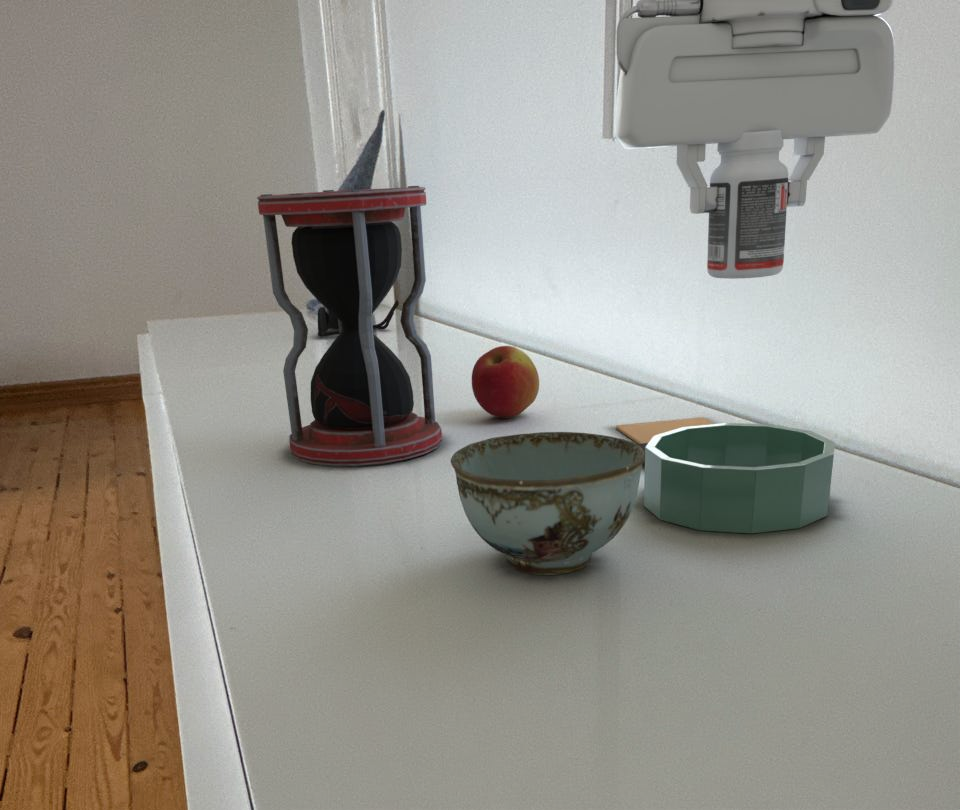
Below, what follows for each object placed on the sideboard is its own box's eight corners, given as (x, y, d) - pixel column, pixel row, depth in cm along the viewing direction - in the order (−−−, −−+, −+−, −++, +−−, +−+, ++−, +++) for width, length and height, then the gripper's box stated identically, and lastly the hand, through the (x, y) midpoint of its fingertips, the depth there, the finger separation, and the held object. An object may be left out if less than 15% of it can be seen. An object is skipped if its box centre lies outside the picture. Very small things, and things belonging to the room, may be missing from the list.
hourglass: (420, 422, 115) (402, 185, 105) (461, 454, 101) (445, 185, 91) (280, 439, 111) (247, 194, 101) (303, 475, 97) (267, 195, 87)
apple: (462, 415, 118) (458, 346, 114) (524, 406, 121) (522, 338, 117) (487, 428, 111) (484, 354, 108) (552, 418, 114) (551, 346, 111)
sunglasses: (388, 337, 178) (386, 308, 176) (311, 339, 181) (308, 310, 179) (411, 323, 193) (409, 296, 191) (339, 325, 196) (336, 298, 193)
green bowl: (777, 472, 90) (782, 417, 88) (863, 521, 77) (871, 458, 75) (623, 488, 88) (624, 432, 86) (684, 541, 75) (687, 477, 73)
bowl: (583, 610, 64) (582, 490, 61) (419, 574, 72) (411, 465, 68) (674, 546, 74) (678, 440, 71) (522, 520, 82) (519, 423, 78)
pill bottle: (791, 270, 78) (801, 128, 74) (771, 279, 74) (780, 129, 70) (719, 271, 81) (725, 134, 77) (696, 279, 77) (701, 134, 72)
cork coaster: (702, 419, 110) (703, 417, 110) (741, 440, 101) (741, 437, 101) (615, 428, 109) (615, 425, 108) (646, 450, 100) (647, 447, 100)
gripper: (631, -9, 65) (630, 220, 71) (917, -19, 68) (893, 201, 74) (602, 6, 71) (603, 218, 77) (867, -4, 74) (848, 200, 80)
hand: (747, 209), depth 75 cm, fingers closed on pill bottle, 6 cm apart
